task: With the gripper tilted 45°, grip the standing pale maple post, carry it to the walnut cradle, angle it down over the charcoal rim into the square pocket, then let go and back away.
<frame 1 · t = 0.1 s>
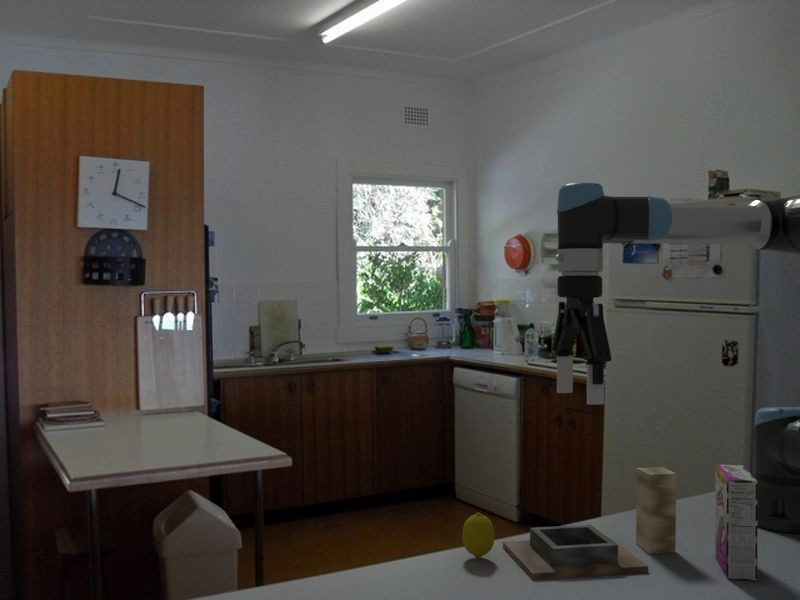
hand: (579, 398, 140), 28 cm above the countertop, tool pointing down, fingers open, 13 cm apart
walnut cradle: (572, 559, 141), on the countertop
lemon: (478, 559, 141), on the countertop
candy bar box: (734, 570, 136), on the countertop
maple post: (655, 548, 147), on the countertop
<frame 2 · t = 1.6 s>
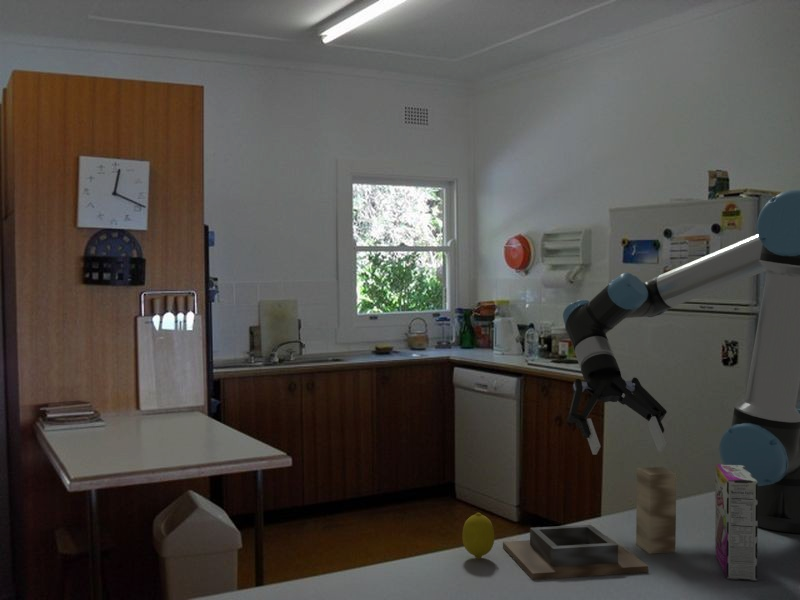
hand: (630, 449, 156), 16 cm above the countertop, tool tilted 45°, fingers open, 13 cm apart
nothing on the countertop moved.
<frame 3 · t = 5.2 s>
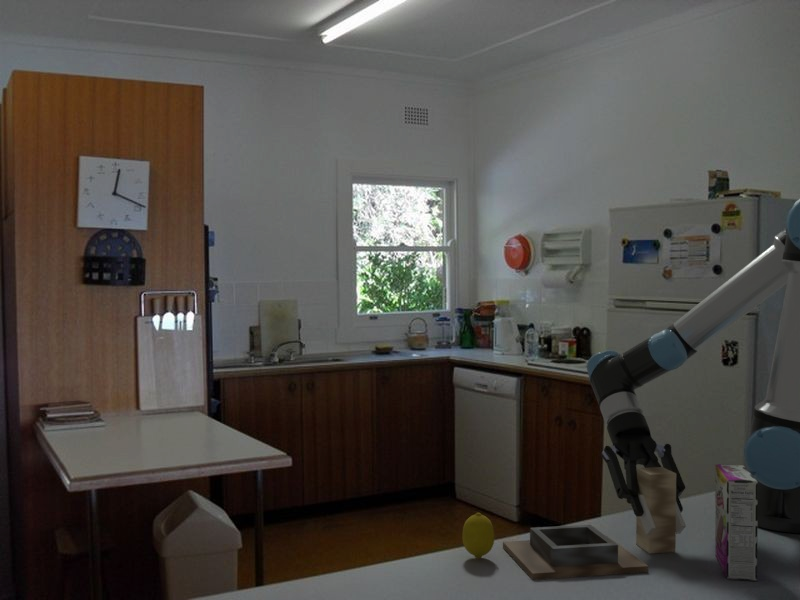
hand: (666, 530, 143), 4 cm above the countertop, tool tilted 45°, fingers closed on maple post, 5 cm apart
maple post: (655, 548, 147), on the countertop, touching gripper
everything else where it was.
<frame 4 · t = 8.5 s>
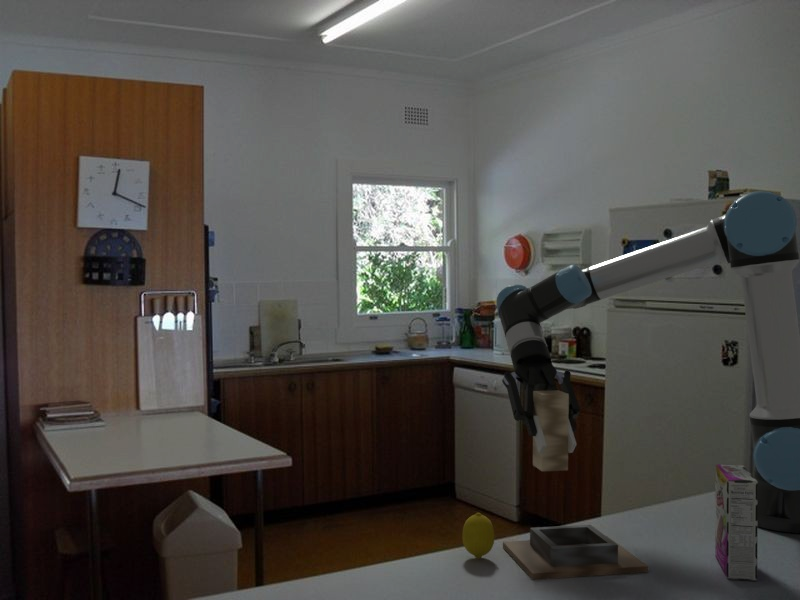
hand: (557, 448, 147), 18 cm above the countertop, tool tilted 45°, fingers closed on maple post, 5 cm apart
maple post: (550, 467, 151), point 13 cm above the countertop, touching gripper
everything else where it was.
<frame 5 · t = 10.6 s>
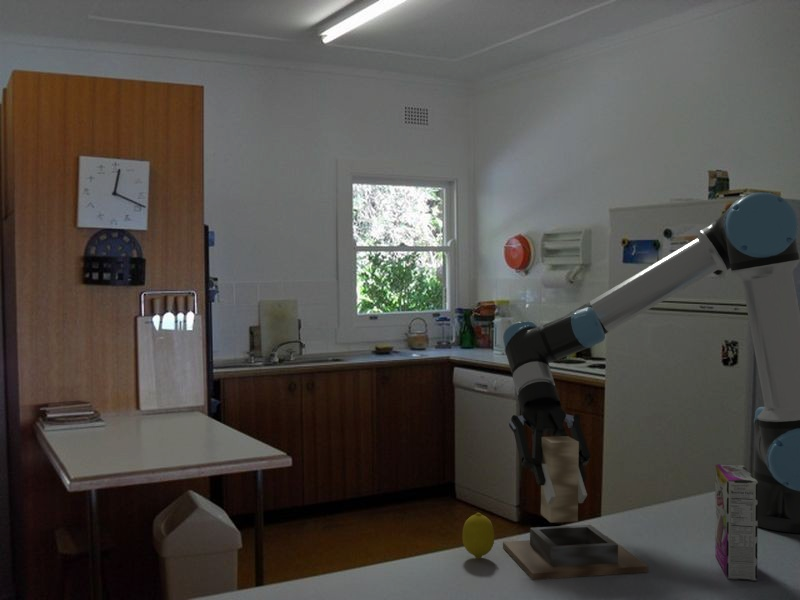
hand: (567, 499, 141), 10 cm above the countertop, tool tilted 45°, fingers closed on maple post, 5 cm apart
maple post: (558, 517, 144), point 6 cm above the countertop, touching gripper
everything else where it was.
when the fingers open (7 cm above the countertop, at t = 12.3 s): maple post drops 1 cm, resting on walnut cradle.
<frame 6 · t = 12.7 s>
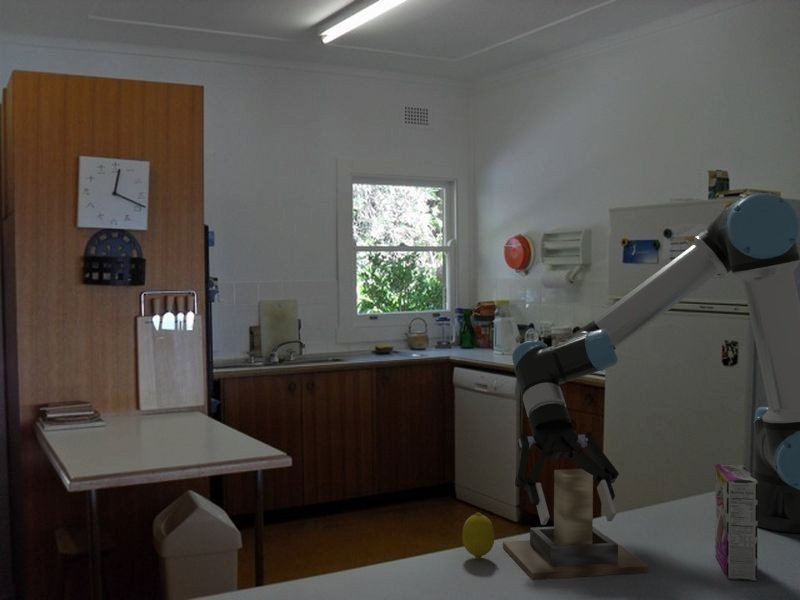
hand: (579, 519, 138), 8 cm above the countertop, tool tilted 45°, fingers open, 11 cm apart
maple post: (572, 553, 141), point 1 cm above the countertop, touching walnut cradle
everything else where it was.
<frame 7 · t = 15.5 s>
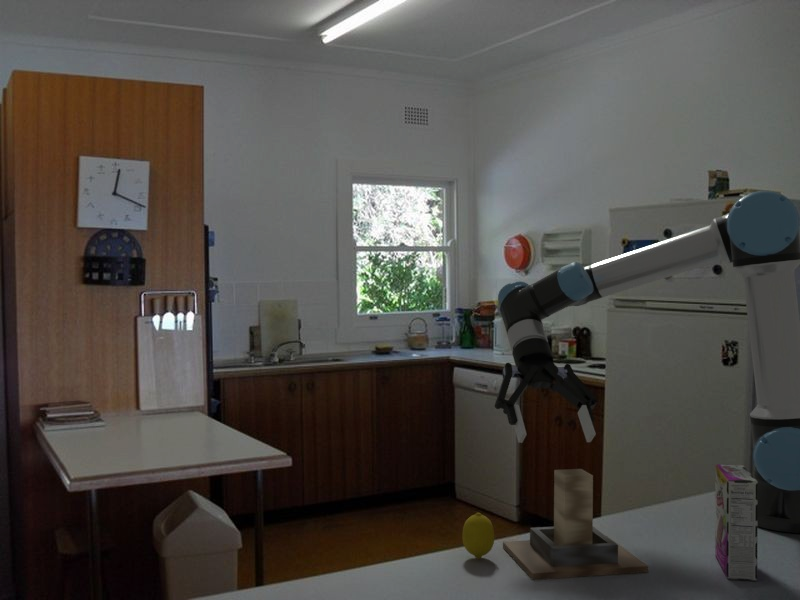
hand: (557, 438, 149), 19 cm above the countertop, tool tilted 45°, fingers open, 13 cm apart
nothing on the countertop moved.
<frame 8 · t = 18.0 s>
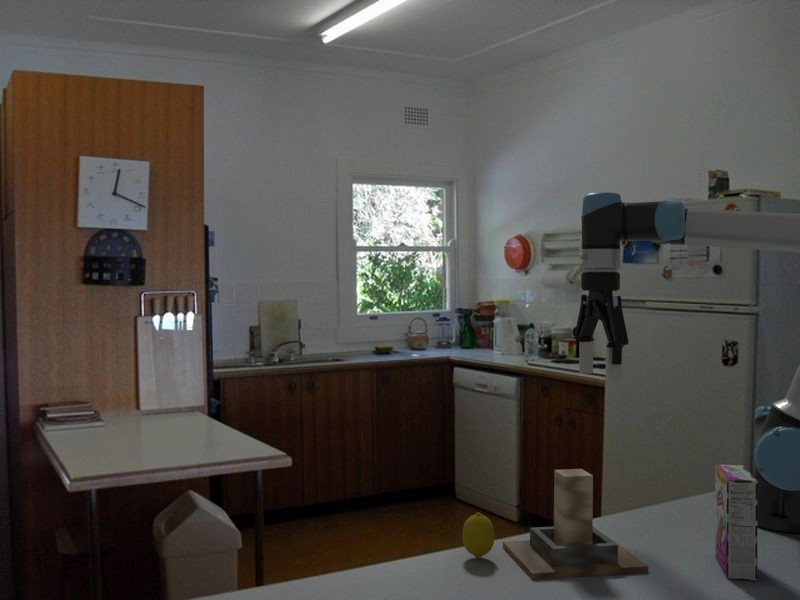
hand: (599, 377, 163), 29 cm above the countertop, tool pointing down, fingers open, 13 cm apart
nothing on the countertop moved.
at the end: maple post 0.1 cm off-centre on the walnut cradle, point 1.0 cm above the walnut cradle's base; maple post tilted 0°; the gripper is holding nothing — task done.
